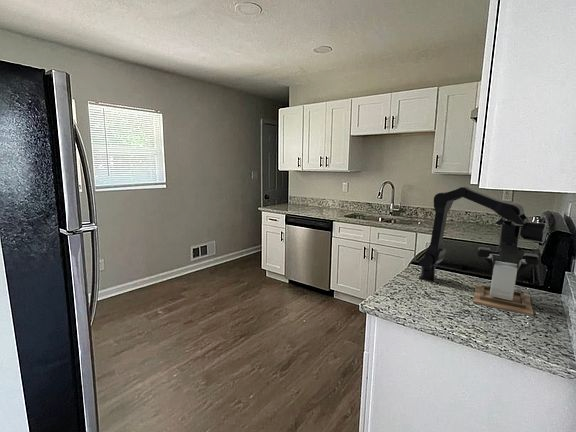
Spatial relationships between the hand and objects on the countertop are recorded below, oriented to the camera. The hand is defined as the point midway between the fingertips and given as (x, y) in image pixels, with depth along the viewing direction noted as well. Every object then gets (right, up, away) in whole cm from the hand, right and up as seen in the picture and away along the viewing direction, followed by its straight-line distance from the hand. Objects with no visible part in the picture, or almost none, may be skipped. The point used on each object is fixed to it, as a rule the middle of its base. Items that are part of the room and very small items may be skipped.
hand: (504, 277), depth 119 cm
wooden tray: (0, -9, +1) cm, 9 cm away
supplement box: (0, -8, +1) cm, 8 cm away
